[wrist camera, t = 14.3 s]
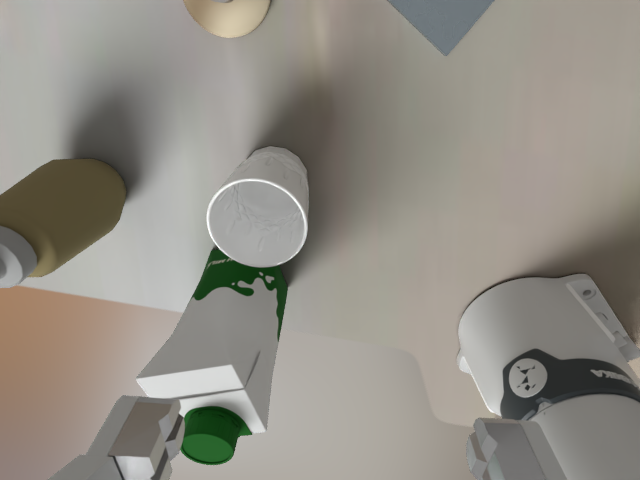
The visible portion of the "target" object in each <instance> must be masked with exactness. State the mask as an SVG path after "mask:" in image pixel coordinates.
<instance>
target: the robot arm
mask: <svg viewBox="0 0 640 480" xmlns="http://www.w3.org/2000/svg"><path fill="white" fill-rule="evenodd" d="M458 334H459V340H460V345H461V349H460V351H459V354H458V357H457V364H458V366H459V368H460V370H462V371H463V372H466V373H468V374H471V375H472V377H473V379H474V381H475V383H476V385H477V387H478V390H479V392H480V394H481V396H482V398H483V400H484V402H485V404H486V406H487V408H488V409H489V410H490V411H491V412H493V413H496V414H497V415H499V416H501V417H502V419H495V418H478V419H476V421H475V423H474V425H473V426H474V429H475V432H474V433H472V434H471V435H469V438H468V441H467V449H466V450H467V452H466V454H467V460H468V464H469V468H470V472H471V473H472V474H473V475H474V476H475V478H476V479H477V480H640V388H639V387H640V380H639V378H638V377H637V375H636V374H635V372H634V371H633V370H632V368H631V367H630V365H629V364H628V363H627V362H629V360H633V359H636V358H638V357H640V349H639V348H638V347H637V346H636V345H635V343H634V342H633V341H632V340H631V339H630V337H629V336H628V334H627V332H626V331H625V329H624V328H623V326H622V325H621V323H620V322H619V320H618V318H617V317H616V315H615V314H614V312H613V311H612V309H611V308H610V306H609V304H608V303H607V301H606V300H605V298H604V297H603V295H602V294H601V292H600V290H599V289H598V287H597V286H596V284H595V283H594V281H593V280H592V279H591V277H590V276H589V275H587V274H575V275H570V276H566V277H562V278H540V277H531V278H522V279H516V280H512V281H508V282H505V283H503V284H500V285H498V286H495V287H493V288H491V289H490V290H488V291H486V292H485V293H483V294H482V295H480V296H479V297H478V298H477V299H475V300H474V301H473V302H472V303H471V304H470V306H469V307H468V308H467V309H466V311H465V312H464V314H463V316H462V318H461V320H460V324H459V330H458ZM180 409H181V404H180V401H179V399H166V398H152V397H142V396H126V395H123V396H121V397H120V399H118V400H117V402H116V403H115V405H114V407H113V408H112V410H111V412H110V414H109V415H108V417H107V419H106V421H105V422H104V424H103V426H102V427H101V429H100V431H99V432H98V434H97V436H96V438H95V440H94V442H93V443H92V445H91V446H90V448H89V450H88V452H87V453H86V455H79V456H78V457H77V458H75V459H74V460H72V461H71V462H70V463H68V464H67V465H66V466H65V467H63V468H62V469H61V470H60V471H58V472H57V473H55V474H54V475H53V476H51V477H50V478H49V479H48V480H169V479H170V476H171V473H172V467H171V463H170V461H171V460H172V459H173V458H174V457H175V456H176V455H177V454H179V451H180V448H181V445H182V442H183V437H184V432H185V422H184V417H183V416H181V415H180V414H179V412H180Z"/></svg>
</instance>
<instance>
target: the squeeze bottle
mask: <svg viewBox="0 0 640 480" xmlns="http://www.w3.org/2000/svg"><path fill="white" fill-rule="evenodd" d="M125 199H126V188H125V185H124V182H123V179H122V178H121V177H120V175H119V174H118V173H117V171H116V170H115V169H113V168H112V167H110V166H109V165H108V164H106V163H105V162H102V161H99V160H96V159H60V160H52V161H50V162H48V163H46V164H44V165H43V166H41V167H39V168H38V169H36V170H35V171H34V172H32V173H31V174H29V175H28V176H27V177H25V178H24V179H22V180H21V181H20V182H18V183H17V184H15V185H14V186H13V187H11V188H10V189H8V190H7V191H5V192H4V193H3V194H1V195H0V288H11V287H13V286H15V285H17V284H19V283H21V282H22V281H23V280H24V279H25V278H27V277H42V276H44V275H47V274H49V273H51V272H53V271H55V270H56V269H57V268H59V267H60V266H62V265H63V264H65V263H66V262H67V261H69V260H70V259H72V258H73V257H75V256H76V255H77V254H79V253H80V252H82V251H83V250H85V249H86V248H87V247H89V246H90V245H92V244H93V243H95V242H96V241H97V240H99V239H100V238H102V237H103V236H105V235H106V234H107V233H109V232H110V231H112V230H113V228H114V227H115V225H116V224H117V223H118V221H119V220H120V216H121V213H122V210H123V206H124V203H125Z"/></svg>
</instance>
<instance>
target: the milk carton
mask: <svg viewBox="0 0 640 480" xmlns="http://www.w3.org/2000/svg"><path fill="white" fill-rule="evenodd" d="M287 290H288V288H287V285H286V283H285V280H284V277H283V274H282V272H281V269H280V266H279V265H277V266H272V267H252V266H248V265H244V264H241V263H239V262H237V261H235V260H233V259H231V258H230V257H228V256H227V255H226V254H224V253H223V252H222V251H221V250H220V249H216V250H212V251H211V253H210V256H209V258H208V261H207V264H206V267H205V269H204V272H203V275H202V277H201V280H200V282H199V284H198V286H197V288H196V290H195V292H194V294H193V296H192V298H191V299H190V301H189V303H188V305H187V307H186V309H185V311H184V313H183V315H182V317H181V319H180V321H179V323H178V324H177V326H176V328H175V330H174V332H173V334H172V335H171V337H170V338H169V339H168V340H167V341H166V343H165V344H164V345H163V346H162V348H161V349H160V350H159V351H158V352H157V354H156V355H155V356H154V357H153V358H152V360H151V361H150V362H149V363H148V364H147V366H146V367H145V368H144V369H143V370H142V371H141V373H140V374H139V375H138V376H137V377H136V380H137V382H138V384H139V385H140V386H141V387H142V389H143V390H144V392H145V393H146V394H147V396H148V397H152V398H166V399H179V401H180V404H181V409H180V412H179V414H180V415H181V416H183V417H184V422H185V432H184V437H183V442H182V445H181V448H180V450H181V452H182V453H183V454H184V455H185V456H186V457H187V458H189V459H190V460H193V461H195V462H197V463H201V464H206V465H218V464H223V463H225V462H227V461H229V460H230V459H231V458H232V457H233V454H234V451H235V447H236V443H237V439H238V437H240V436H243V435H252V433H261V432H266V430H267V421H268V412H269V402H270V392H271V383H272V375H273V369H274V364H275V358H276V352H277V348H278V342H279V337H280V331H281V326H282V320H283V315H284V309H285V304H286V297H287Z"/></svg>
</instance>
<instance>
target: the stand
mask: <svg viewBox="0 0 640 480" xmlns="http://www.w3.org/2000/svg"><path fill="white" fill-rule="evenodd" d="M183 1H184V3H185V6H186V8H187V10H188V11H189V13H190V14H191V16H192V17H193V19H194V20H195V21H196V22H197V23H198V24H199V25H200V26H201V27H202V28H204V29H205V30H207V31H208V32H210V33H212V34H214V35H217V36H220V37H225V38H235V37H240V36H244V35H246V34H249V33H250V32H252V31H254V30H255V29H256V28H257V27H258V26H259V25H260V24H261V23H262V21H263V20H264V18H265V16H266V14H267V12H268V9H269V6H270V2H271V0H183Z"/></svg>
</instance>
